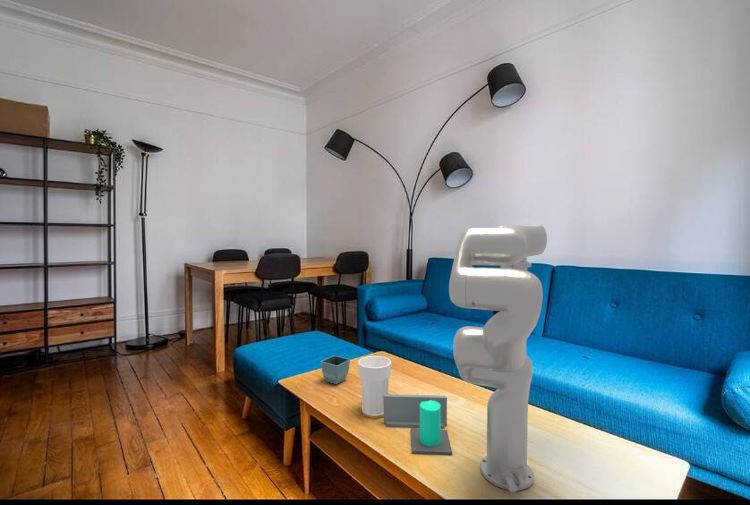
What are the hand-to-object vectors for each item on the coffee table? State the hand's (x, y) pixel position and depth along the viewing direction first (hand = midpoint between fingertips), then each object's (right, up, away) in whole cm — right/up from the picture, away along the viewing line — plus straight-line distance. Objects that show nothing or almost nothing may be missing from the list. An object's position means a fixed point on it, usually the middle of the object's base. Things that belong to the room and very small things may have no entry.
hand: (512, 321), depth 108 cm
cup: (-43, -33, +12) cm, 55 cm away
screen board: (-30, -33, +4) cm, 45 cm away
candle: (-27, -33, -6) cm, 43 cm away
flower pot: (-59, -32, +36) cm, 76 cm away
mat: (-26, -34, -6) cm, 43 cm away
